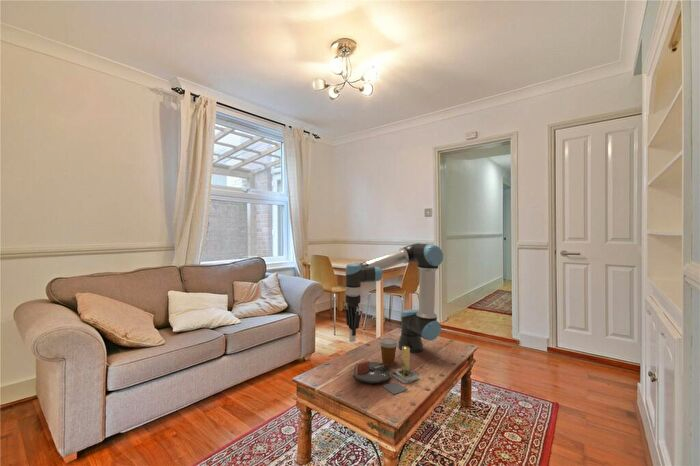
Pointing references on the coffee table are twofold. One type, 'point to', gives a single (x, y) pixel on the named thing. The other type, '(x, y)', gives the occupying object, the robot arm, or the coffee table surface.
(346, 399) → the coffee table surface
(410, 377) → the grey square frame
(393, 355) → the disposable coffee cup
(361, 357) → the coffee table surface
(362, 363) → the compass
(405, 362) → the yellow tall cylinder
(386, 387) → the rest pad
